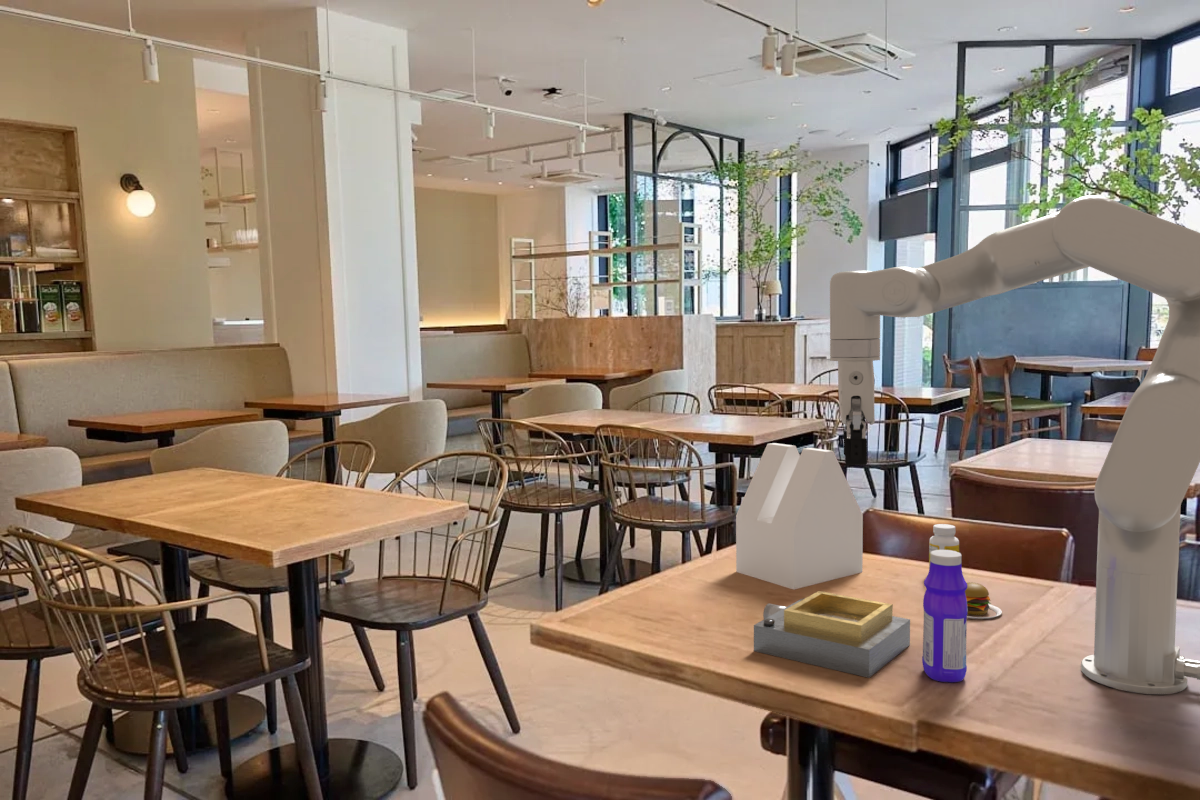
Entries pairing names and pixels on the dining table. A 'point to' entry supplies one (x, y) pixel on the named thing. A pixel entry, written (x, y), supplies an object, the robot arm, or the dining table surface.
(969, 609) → the hamburger
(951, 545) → the supplement bottle
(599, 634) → the dining table surface
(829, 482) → the white notched block
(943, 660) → the bottle
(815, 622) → the grey brass fixture
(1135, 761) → the dining table surface
